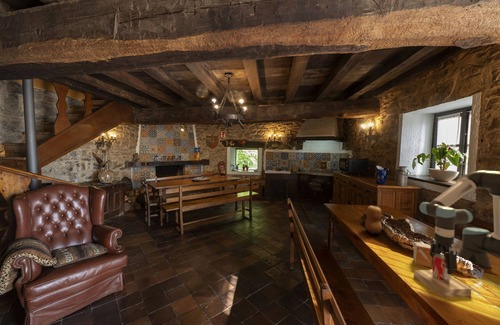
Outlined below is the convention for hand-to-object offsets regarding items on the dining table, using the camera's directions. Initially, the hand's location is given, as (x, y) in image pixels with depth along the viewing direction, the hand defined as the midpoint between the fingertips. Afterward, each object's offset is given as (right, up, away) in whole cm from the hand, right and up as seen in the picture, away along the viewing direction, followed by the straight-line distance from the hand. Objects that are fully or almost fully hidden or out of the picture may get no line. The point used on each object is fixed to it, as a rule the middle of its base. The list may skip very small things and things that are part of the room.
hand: (441, 274), depth 107 cm
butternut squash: (+7, -3, +70) cm, 70 cm away
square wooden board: (0, -7, 0) cm, 7 cm away
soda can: (0, -3, 0) cm, 3 cm away
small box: (+9, -6, +21) cm, 24 cm away
